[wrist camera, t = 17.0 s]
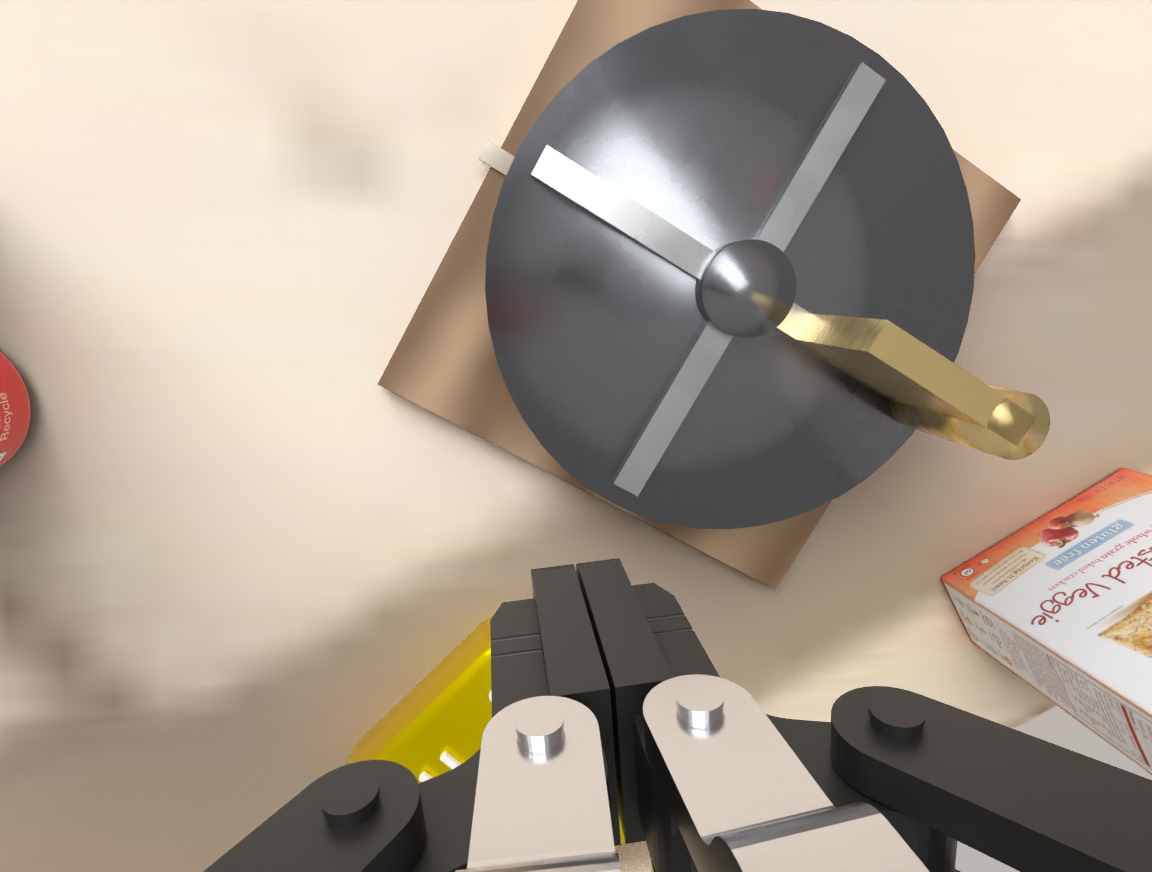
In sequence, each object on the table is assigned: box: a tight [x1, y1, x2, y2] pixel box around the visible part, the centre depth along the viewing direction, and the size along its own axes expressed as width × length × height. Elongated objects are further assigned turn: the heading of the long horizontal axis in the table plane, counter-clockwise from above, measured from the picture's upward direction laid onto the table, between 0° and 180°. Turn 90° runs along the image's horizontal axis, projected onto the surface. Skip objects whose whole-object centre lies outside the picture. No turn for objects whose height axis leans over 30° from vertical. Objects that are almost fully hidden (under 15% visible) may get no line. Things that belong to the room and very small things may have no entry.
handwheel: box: [485, 9, 1050, 529], centre depth 30 cm, size 24×24×8 cm
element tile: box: [347, 617, 625, 849], centre depth 41 cm, size 15×15×5 cm
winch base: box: [378, 0, 1021, 589], centre depth 36 cm, size 27×26×5 cm
